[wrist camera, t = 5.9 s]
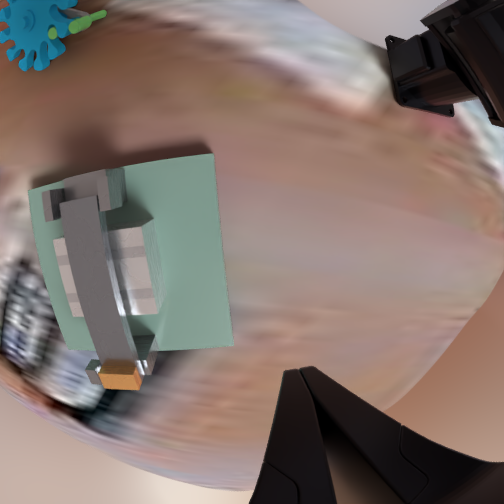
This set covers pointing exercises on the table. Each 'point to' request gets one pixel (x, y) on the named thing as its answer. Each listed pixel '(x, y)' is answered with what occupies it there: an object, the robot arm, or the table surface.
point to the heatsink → (125, 268)
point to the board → (170, 249)
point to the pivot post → (87, 191)
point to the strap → (100, 293)
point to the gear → (42, 28)
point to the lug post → (146, 352)
